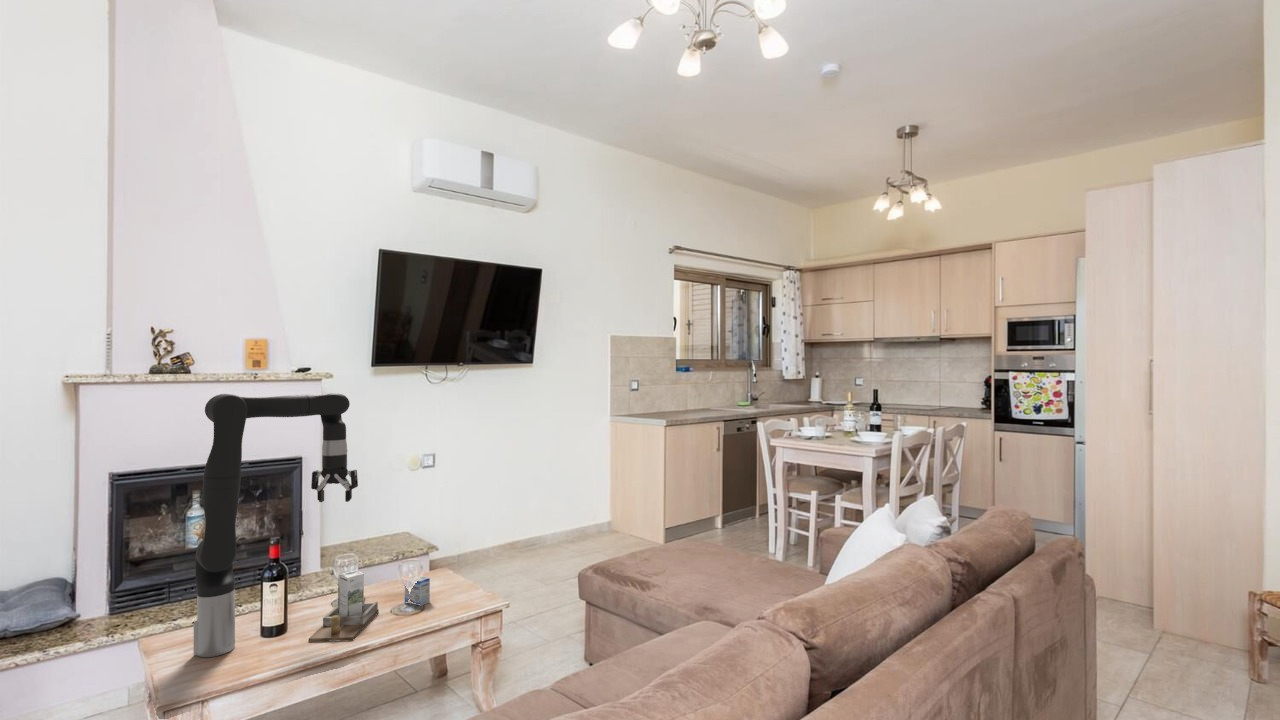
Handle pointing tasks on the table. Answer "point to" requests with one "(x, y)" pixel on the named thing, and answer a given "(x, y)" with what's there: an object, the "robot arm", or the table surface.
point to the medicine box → (419, 592)
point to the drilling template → (344, 624)
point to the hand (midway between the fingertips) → (334, 501)
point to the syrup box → (351, 594)
